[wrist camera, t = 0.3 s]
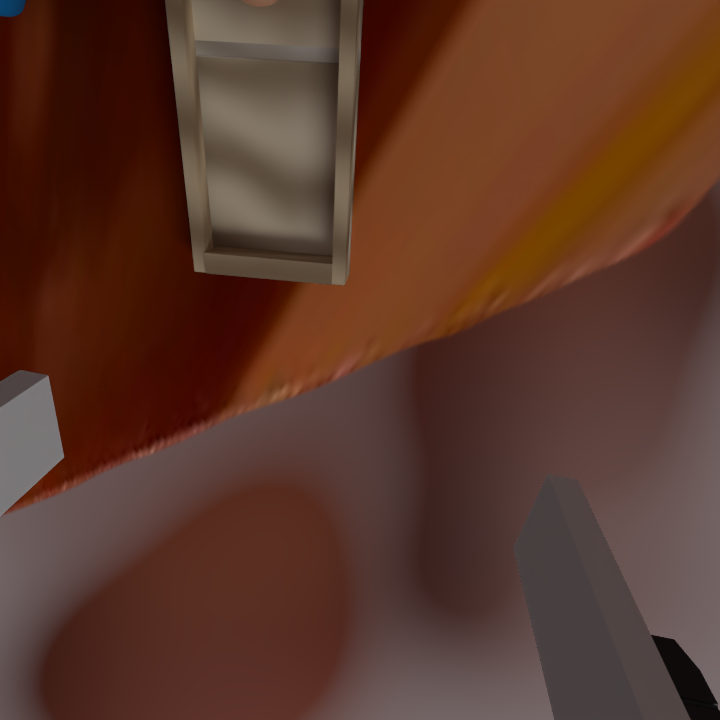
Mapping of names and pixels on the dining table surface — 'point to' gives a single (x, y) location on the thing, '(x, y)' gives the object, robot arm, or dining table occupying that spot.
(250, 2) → the ball
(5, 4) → the alarm clock
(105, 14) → the dining table surface
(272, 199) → the lane
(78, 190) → the dining table surface
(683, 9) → the dining table surface
